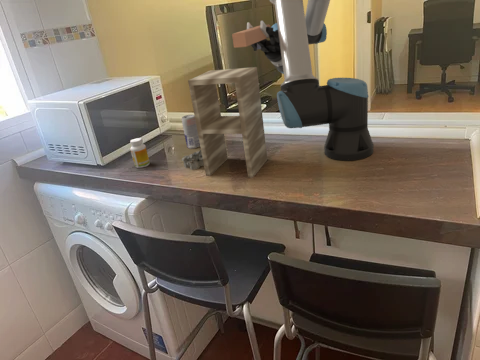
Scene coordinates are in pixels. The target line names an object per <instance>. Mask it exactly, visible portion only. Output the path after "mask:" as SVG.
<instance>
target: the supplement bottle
mask: <svg viewBox="0 0 480 360" xmlns="http://www.w3.org/2000/svg"><path fill="white" fill-rule="evenodd" d="M130 145H131V147H130V148H129V149H130V154H131V157H132V160H133V161H132V162H133V164H134V167H135V168H137V169H142V168H146V167H149V165H150V163H151V162H150V158H149V154H148V151H147V146H146V144H144V143H143V139H142V138H141V137H137V138H134V139H133V138H132V139H130Z"/></svg>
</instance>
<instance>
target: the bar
mask: <svg viewBox="0 0 480 360" xmlns="http://www.w3.org/2000/svg"><path fill="white" fill-rule="evenodd" d="M266 25H267V27H270V28H271V24H266ZM231 35H232V42H233V43H232V44H233V48H234V49H235V48H247V47H249V46H251V45H252V44H254V43H256V42H259V41H261V40H264V39H270V38H269V37H266V36H265V35H264V33H263V32H262V31H261V29H260V25H257V26H253V28H250V29H247V28H246V29H244V30H241V31H237V32H234V33H232V34H231Z"/></svg>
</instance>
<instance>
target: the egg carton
mask: <svg viewBox="0 0 480 360" xmlns="http://www.w3.org/2000/svg"><path fill="white" fill-rule="evenodd" d="M181 161H183V166H184V168H190V170H197V169H200V167H202V166H203V167H204V163H203V158H202V152H201V149H200V150H198V151H194V152H193V153H190V154H189V155H184V156H183V157H182V158H181Z"/></svg>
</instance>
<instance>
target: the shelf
mask: <svg viewBox="0 0 480 360" xmlns="http://www.w3.org/2000/svg"><path fill="white" fill-rule="evenodd" d="M187 83H188V84H187V85H188V88H189V94H190V99H191V103H192V109H193V115H195V121H196V126H197V131H198V137H199V142H200V146H199V148H200V150H201V152H202V158H203V163H204V165H203V167H204V172H205V176H206V177H207V176H209V177H211V175H213V174H214V173H215V172H216V171H217V170H218V169H220V167H221V166H222V165H223V164H224V163H225V162H226V161H227V160H228V151H227V145H226V137H225V135H230V134H231V135H232V134H233V135H236V134H237V135H239V134H241V136H242V143H243V149H244V156H245V164H246V165H245V167H246V173H247V178H251V179H253V178H254V177H255V175H256V174H257V173H258V172H259V171H260V169H261V168H262V167H263V166H264V165H265V163H266V162H267V161H268V152H267V145H266V144H267V143H266V135H265V127H264V119H263V109H262V99H261V91H260V82H259V73H258V67H257V66H254V67H253V66H251V67H241V68H228V69H215V70H214V69H211V70H208V71H206V72H204V73H201V74H199V75H197V76H195V77H193V78H190V79H188V80H187ZM224 84H234V86H235V94H236V99H237V108H238V114H239V115H222V114H221V107H220V100H219V95H218V89H217V85H224Z"/></svg>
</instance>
